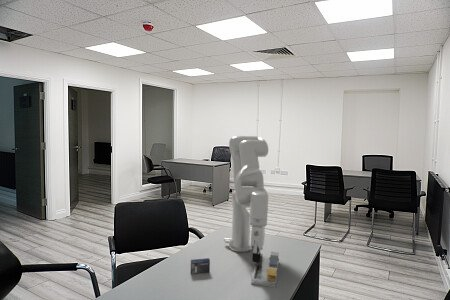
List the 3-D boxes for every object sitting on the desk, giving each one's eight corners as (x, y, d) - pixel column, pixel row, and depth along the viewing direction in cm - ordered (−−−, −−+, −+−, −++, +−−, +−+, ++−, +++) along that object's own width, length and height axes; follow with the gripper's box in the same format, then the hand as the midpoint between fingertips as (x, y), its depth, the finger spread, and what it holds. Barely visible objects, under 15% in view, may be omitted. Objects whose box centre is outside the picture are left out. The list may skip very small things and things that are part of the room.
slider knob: (254, 265, 134) (255, 255, 134) (255, 262, 137) (256, 252, 137) (261, 266, 133) (261, 256, 133) (262, 263, 136) (262, 253, 136)
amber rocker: (265, 274, 123) (265, 271, 123) (267, 269, 132) (267, 266, 132) (276, 276, 122) (276, 272, 122) (277, 271, 131) (277, 268, 131)
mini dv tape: (191, 274, 129) (191, 261, 129) (190, 273, 131) (190, 259, 131) (209, 272, 132) (209, 259, 131) (208, 271, 133) (209, 258, 133)
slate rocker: (268, 265, 135) (268, 263, 135) (270, 253, 144) (270, 251, 144) (278, 266, 134) (278, 264, 134) (279, 255, 143) (279, 252, 143)
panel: (250, 283, 123) (251, 275, 123) (257, 259, 146) (258, 252, 146) (275, 287, 121) (275, 278, 121) (278, 262, 144) (279, 254, 144)
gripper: (265, 227, 119) (263, 271, 121) (268, 215, 134) (266, 254, 136) (246, 225, 121) (244, 268, 123) (252, 214, 135) (250, 252, 137)
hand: (256, 261), depth 129 cm, fingers closed
